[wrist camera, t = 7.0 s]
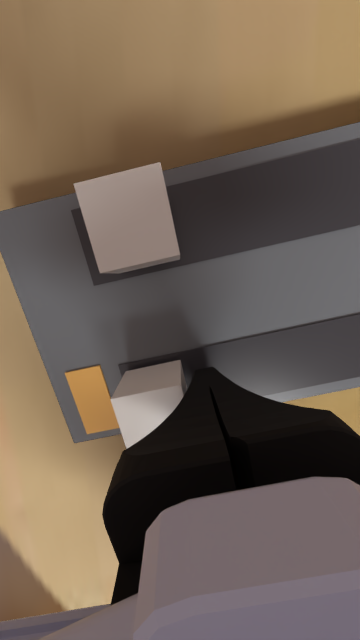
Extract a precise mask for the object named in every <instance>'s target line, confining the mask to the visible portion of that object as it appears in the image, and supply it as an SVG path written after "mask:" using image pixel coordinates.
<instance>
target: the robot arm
mask: <svg viewBox="0 0 360 640" xmlns="http://www.w3.org/2000/svg"><path fill="white" fill-rule="evenodd" d="M102 515H103V520H104V524H105V528H106V530H107V533H108V535H109V538H110V541H111V543H112V546H113V548H114V551H115V553H116V556H117V559H118V561H119V567H118V572H117V577H116V582H115V587H114V592H113V596H112V601H111V604H106V605H100V606H94V607H88V608H82V609H75V610H69V611H63V612H57V613H51V614H45V615H39V616H33V617H26V618H20V619H14V620H8V621H2V622H0V640H360V436H359V435H358V434H357V433H356V432H354V431H353V430H352V429H351V428H350V427H349V426H348V425H347V424H346V423H345V422H344V421H342V420H341V419H340V418H339V417H337V416H336V415H335V414H334V413H332V412H331V411H328V410H320V409H313V408H306V407H300V406H295V405H290V404H286V403H282V402H278V401H275V400H271V399H268V398H265V397H262V396H260V395H257V394H255V393H253V392H251V391H248V390H246V389H244V388H242V387H241V386H239V385H237V384H235V383H234V382H232V381H231V380H230V379H228V378H227V377H225V376H224V375H223V374H222V373H220V372H219V371H218V370H217V369H216V368H214V367H208V368H203V369H199V370H195V372H194V374H193V377H192V380H191V383H190V385H189V387H188V389H187V391H186V393H185V394H184V396H183V398H182V400H181V401H180V403H179V404H178V406H177V407H176V408H175V410H174V411H173V412H172V413H171V414H170V415H169V416H168V417H167V418H166V419H165V420H164V421H163V422H162V423H161V424H160V425H159V426H158V427H157V428H155V429H154V430H153V431H152V432H151V433H149V434H148V435H147V436H145V437H144V438H143V439H141V440H140V441H138V442H137V443H135V444H134V445H132V446H131V447H129V448H127V449H126V450H124V451H123V452H122V455H121V457H120V459H119V462H118V464H117V466H116V469H115V471H114V474H113V477H112V480H111V483H110V486H109V489H108V492H107V495H106V498H105V501H104V506H103V514H102Z"/></svg>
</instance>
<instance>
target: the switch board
mask: <svg viewBox="0 0 360 640" xmlns="http://www.w3.org/2000/svg"><path fill="white" fill-rule="evenodd" d="M162 172H163V176H164V181H165V186H166V190H167V195H168V200H169V204H170V209H171V214H172V219H173V223H174V228H175V233H176V237H177V242H178V247H179V251H180V260H175V261H171V262H167V263H162V264H158V265H154V266H149V267H145V268H141V269H136V270H132V271H128V272H123V273H100V272H99V269H98V265H97V262H96V259H95V255H94V252H93V249H92V245H91V242H90V238H89V235H88V232H87V228H86V225H85V221H84V218H83V215H82V211H81V208H80V205H79V201H78V198H77V194H76V193H72V194H68V195H64V196H60V197H56V198H52V199H48V200H44V201H40V202H36V203H32V204H28V205H24V206H20V207H16V208H12V209H8V210H4V211H0V251H1V254H2V257H3V259H4V262H5V264H6V267H7V270H8V272H9V275H10V277H11V280H12V283H13V285H14V288H15V290H16V293H17V296H18V298H19V301H20V303H21V306H22V309H23V311H24V314H25V316H26V319H27V322H28V324H29V327H30V329H31V332H32V335H33V337H34V340H35V342H36V345H37V347H38V350H39V353H40V355H41V358H42V360H43V363H44V366H45V368H46V371H47V373H48V376H49V379H50V381H51V384H52V386H53V389H54V392H55V394H56V397H57V399H58V402H59V405H60V407H61V410H62V412H63V415H64V418H65V420H66V423H67V425H68V428H69V431H70V433H71V436H72V438H73V441H74V443H78V442H83V441H88V440H93V439H98V438H103V437H108V436H113V435H118V434H122V433H121V430H120V427H119V424H118V421H117V418H116V415H115V412H114V409H113V406H112V403H111V400H110V399H111V397H112V395H113V394H114V392H115V390H116V388H117V386H118V384H119V383H120V381H121V379H122V377H123V375H124V373H125V372H126V371H129V370H134V369H139V368H143V367H148V366H153V365H158V364H163V363H167V362H172V361H177V360H181V364H182V369H183V373H184V377H185V381H186V385H187V389H188V387H189V385H190V383H191V380H192V377H193V374H194V372H195V370H199V369H203V368H208V367H214V368H216V369H217V370H218V371H219V372H220V373H222V374H223V375H224V376H225V377H227V378H228V379H230V380H231V381H232V382H234V383H235V384H237V385H239V386H241V387H242V388H244V389H246V390H248V391H251V392H253V393H255V394H257V395H260V396H262V397H265V398H268V399H271V400H275V401H278V402H285V401H290V400H295V399H301V398H306V397H311V396H316V395H321V394H326V393H331V392H336V391H341V390H346V389H351V388H356V387H360V122H358V123H354V124H350V125H346V126H342V127H338V128H334V129H330V130H326V131H322V132H318V133H313V134H309V135H305V136H301V137H297V138H293V139H289V140H285V141H281V142H277V143H273V144H269V145H265V146H261V147H257V148H253V149H249V150H245V151H241V152H237V153H233V154H229V155H225V156H221V157H217V158H213V159H209V160H205V161H201V162H197V163H193V164H189V165H185V166H181V167H177V168H173V169H169V170H165V171H162Z"/></svg>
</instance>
